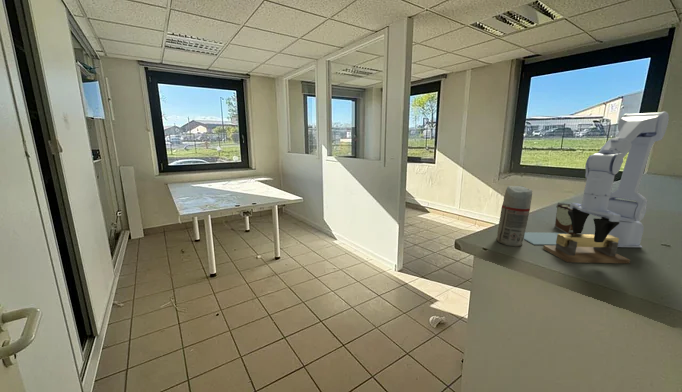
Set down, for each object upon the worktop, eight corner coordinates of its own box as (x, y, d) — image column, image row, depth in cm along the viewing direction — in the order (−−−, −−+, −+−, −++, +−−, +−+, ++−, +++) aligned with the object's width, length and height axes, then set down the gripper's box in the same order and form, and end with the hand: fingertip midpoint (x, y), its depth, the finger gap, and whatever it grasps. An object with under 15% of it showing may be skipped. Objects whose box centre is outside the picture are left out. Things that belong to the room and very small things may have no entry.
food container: (589, 236, 101) (595, 211, 98) (570, 235, 102) (576, 210, 100) (569, 226, 112) (573, 203, 110) (552, 225, 114) (557, 202, 111)
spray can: (526, 242, 94) (535, 186, 90) (521, 249, 88) (531, 189, 84) (499, 236, 100) (506, 183, 96) (493, 242, 94) (500, 186, 90)
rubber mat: (565, 233, 103) (565, 232, 103) (593, 246, 92) (593, 245, 91) (512, 233, 104) (513, 232, 104) (533, 245, 92) (534, 243, 92)
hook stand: (598, 249, 89) (601, 233, 87) (629, 263, 79) (633, 245, 78) (543, 248, 89) (545, 232, 88) (567, 262, 79) (570, 244, 78)
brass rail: (607, 243, 84) (609, 234, 84) (616, 247, 82) (619, 238, 81) (555, 242, 85) (557, 233, 84) (563, 246, 82) (565, 237, 81)
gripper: (563, 189, 87) (556, 229, 90) (605, 199, 73) (595, 246, 76) (585, 189, 87) (577, 229, 90) (632, 199, 73) (620, 246, 75)
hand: (587, 237), depth 83 cm, fingers open, 7 cm apart
